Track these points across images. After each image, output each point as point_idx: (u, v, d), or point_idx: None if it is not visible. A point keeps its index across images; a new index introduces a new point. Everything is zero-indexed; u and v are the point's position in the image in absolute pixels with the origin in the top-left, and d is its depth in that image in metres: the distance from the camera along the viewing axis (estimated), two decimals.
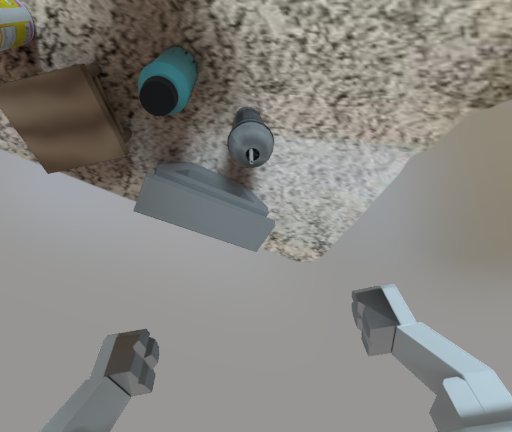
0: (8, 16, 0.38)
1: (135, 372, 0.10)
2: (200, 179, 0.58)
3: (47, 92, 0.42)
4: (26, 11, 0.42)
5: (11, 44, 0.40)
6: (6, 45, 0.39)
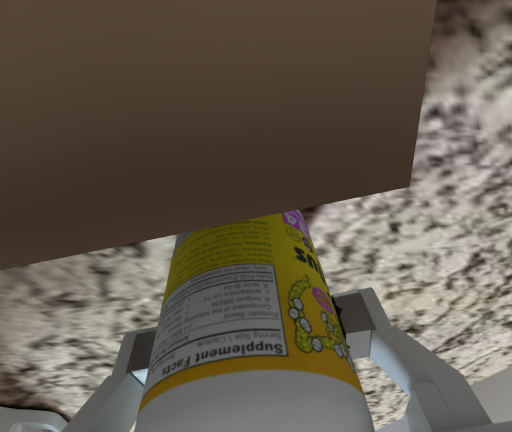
0: None
1: None
2: None
3: None
4: None
5: (180, 294, 0.09)
6: (174, 327, 0.08)
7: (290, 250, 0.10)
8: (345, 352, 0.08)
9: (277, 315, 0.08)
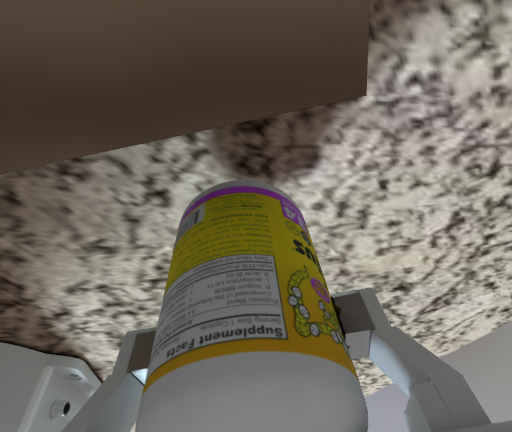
0: None
1: None
2: None
3: (22, 69, 0.07)
4: None
5: (183, 282, 0.10)
6: (178, 313, 0.09)
7: (289, 242, 0.11)
8: (341, 339, 0.09)
9: (276, 301, 0.08)
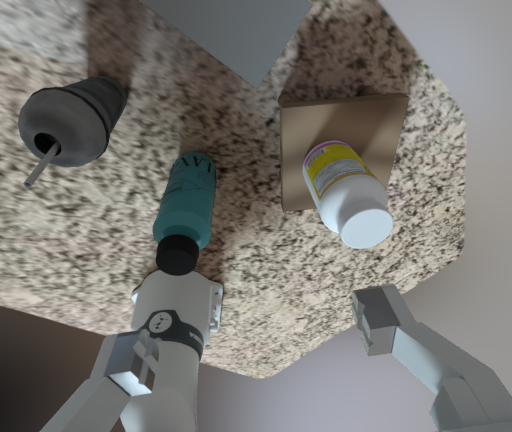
0: (312, 191, 0.31)
1: (135, 372, 0.10)
2: None
3: None
4: (303, 173, 0.35)
5: (329, 166, 0.29)
6: (332, 172, 0.29)
7: (360, 159, 0.31)
8: None
9: (363, 168, 0.28)
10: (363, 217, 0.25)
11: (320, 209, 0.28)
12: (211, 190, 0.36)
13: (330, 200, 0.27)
